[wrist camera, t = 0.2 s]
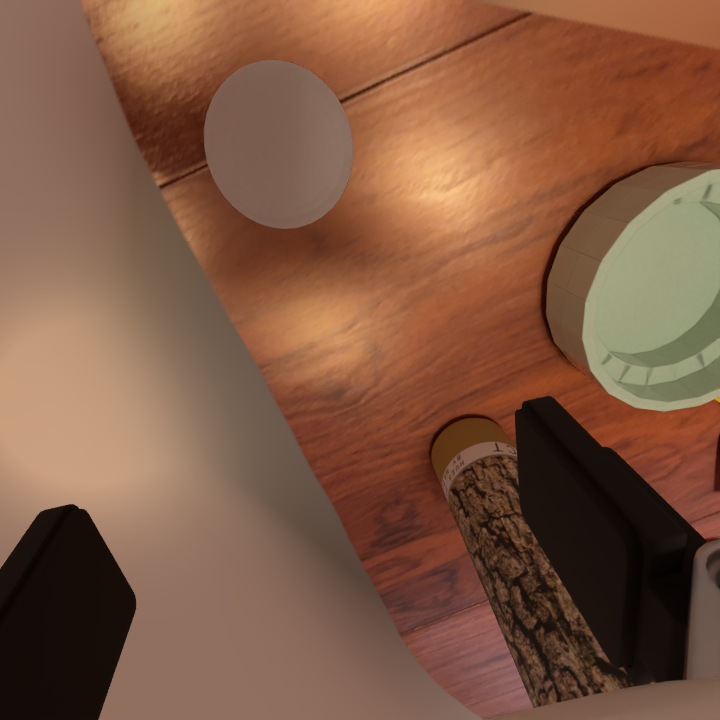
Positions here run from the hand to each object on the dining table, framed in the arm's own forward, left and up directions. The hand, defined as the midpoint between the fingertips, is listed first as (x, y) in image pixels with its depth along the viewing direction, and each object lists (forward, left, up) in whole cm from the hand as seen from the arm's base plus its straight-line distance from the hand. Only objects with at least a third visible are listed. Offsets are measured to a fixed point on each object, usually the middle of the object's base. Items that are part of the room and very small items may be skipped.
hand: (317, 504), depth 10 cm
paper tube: (+8, +20, -25) cm, 33 cm away
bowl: (-11, +24, -25) cm, 36 cm away
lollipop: (-6, -4, -25) cm, 26 cm away
